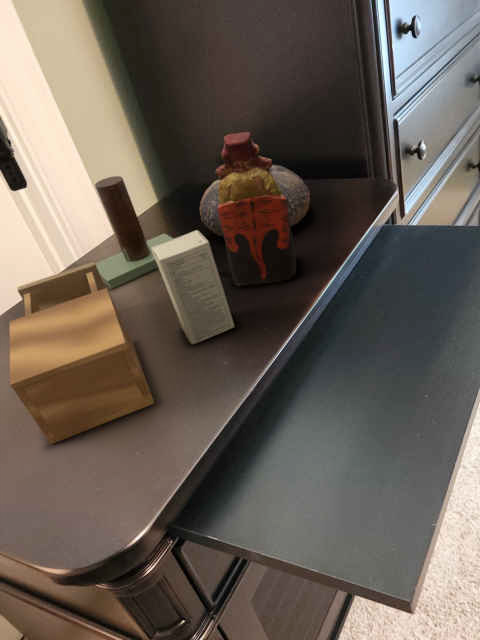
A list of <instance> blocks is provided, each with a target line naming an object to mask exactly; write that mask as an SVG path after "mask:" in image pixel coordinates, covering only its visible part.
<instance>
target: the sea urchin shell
mask: <svg viewBox="0 0 480 640" xmlns="http://www.w3.org/2000/svg"><path fill="white" fill-rule="evenodd" d="M269 171H270V172H271V174H272V175H273V177H274V179H275V181H276V183H277V185H278V187H279V188H280V189H281V192H282V195H283V196H285V197H287V199H288V205H289V217H290V227H293V226H295V225H297V224H299V222H300V221H301V220H302V219H303V218H304V217H305V216H306V215H307V212H308V211H309V207H310V202H311V198H310V195H311V194H310V193H311V192H310V191H309V188H308V186H307V185H306V183H305V182H304V181H303V178H301V177H300V176H299V175H298V174H296V173H295V172H294V171H291V170H290V169H288V168H286V167H284V166H282V165H278V164H272V167H271V168H270V169H269ZM219 183H220V179H219V178H218V179H217V180H215V181H213V183H211V185H209V187H208V188H207V189H206V190H205V192H204V193H203V196H202V198H201V199H200V202H199V204H200V205H199V215H200V221H201V222H202V223H203V224H204V226H205V227H207V228H208V229H209V230H210V231H211V232H213V233H214V235H215V234H216V235H217V236H219V237H221V238H224V234H223V231H222V227H221V223H220V219H219V215H218V211H217V207H218V206H219V194H218V190H219Z"/></svg>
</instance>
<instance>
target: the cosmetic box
mask: <svg viewBox="0 0 480 640" xmlns="http://www.w3.org/2000/svg"><path fill="white" fill-rule="evenodd" d="M151 250H152V252H153V255H154V257H155V260H156V262H157V265H158V270H159V273H160V276H161V277H162V280H163V282H164V285H165V288H166V290H167V293H168V295H169V299H170V300H171V302H172V306H173V308H174V310H175V313H176V316H177V318H178V321H179V324H180V326H181V328H182V331H183V333H184V335H185V336H186V338H187V339H188V341H189V343H190V344H191V345H195V344H198V343H200V342H203V341H205V340H207V339H209V338H212V337H214V336H217V335H221V334H222V333H225V332H226V331H229V330H231V329H233V328H235V323H234V320H233V319H234V318H233V317H232V313H231V310H230V307H229V304H228V300H227V297H226V294H225V290H224V287H223V284H222V281H221V277H220V274H219V271H218V268H217V264H216V261H215V258H214V254H213V252H212V248H211V244H210V242H209V240H208V239H207V238H206V237H205V236H204V235H203V234H202V233H201V232H200V231H199V230H198V229H197V230H193V231H191V232H188V233H185V234H181V235H180V236H178V237H173V239H172V240H169V241H166V242H164V243H161V244H158V245H156V246H153V247H151Z"/></svg>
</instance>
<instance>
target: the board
mask: <svg viewBox="0 0 480 640" xmlns="http://www.w3.org/2000/svg"><path fill="white" fill-rule="evenodd" d="M172 239H174V237H172V236H170V235H168V234H167V233H161V234H160V235H157V236H155V237H153V238H151V239H148V240H146V242H147V244H148V247H149V250H150V254H149V255H148V256H147V257H145V258H144V259H141V260H138V261H127V260H126V259H125V257H124V255H123V252H122V251H121V252H118V253H116V254H114V255H112V256H110V257H107V258H105V259H103V260H100V261H98V262H95V264H96V266H97V269H98V271H99V273H100V275H101V277H102V279H103V282H104V284H105V286H106V287H108V288H109V289H110V290H113V289H115V288H117V287H120V286H122V285H124V284H125V283H128V282H130V281H132V280H134V279H136V278H138V277H141V276H143V275H145V274H147V273H149V272H152V271H153V270H155V269H159V267H158V265H157V262H156V260H155V257H154V255H153V252H152V250H151V247H153V246H156V245H158V244H161V243H164V242H166V241H169V240H172Z"/></svg>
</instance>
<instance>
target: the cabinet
mask: <svg viewBox="0 0 480 640" xmlns="http://www.w3.org/2000/svg"><path fill="white" fill-rule="evenodd" d="M9 386H10V387H11V389H12V390H13V391H14V393H15V394H16V396H17V398H19V400H20V401H21V403H22V404H23V406H24V407H25V408H26V410H27V412H28V413H29V414H30V416H31V417H32V419H33V420H34V421H35V423H36V425H37V426H38V427H39V429H40V430H41V431H42V434H44V436H45V437H46V439H47V440H48V441H49V443H50V445H53V444H57V443H58V442H61V441H64V440H66V439H68V438H71V437H73V436H77V435H79V434H81V433H84V432H86V431H88V430H91V429H94V428H97V427H99V426H101V425H103V424H106V423H109V422H112V421H113V420H117V419H119V418H121V417H124V416H127V415H129V414H132V413H134V412H137V411H139V410H141V409H144V408H147V407H150V406H151V405H154V404H155V401H154V398H153V396H152V393H151V390H150V387H149V385H148V382H147V379H146V377H145V374H144V370H143V367H142V364H141V362H140V359H139V357H138V354H137V351H136V348H135V346H134V343H133V341H132V339H131V336H130V334H129V332H128V330H127V328H126V326H125V323H124V321H123V319H122V317H121V315H120V313H119V310H118V308H117V305H116V304H115V302H114V300H113V297H112V295H111V293H110V290H109V288H107V287H106V288H105V289H102V290H100V291H97V292H94V293H91V294H88V295H85V296H82V297H79V298H76V299H73V300H70V301H68V302H65V303H62V304H59V305H56V306H53V307H50V308H47V309H44V310H41V311H39V312H36V313H33V314H30V315H27V316H25V315H24V316H22V317H19V318H15V319H12V320H10V321H9Z"/></svg>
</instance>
